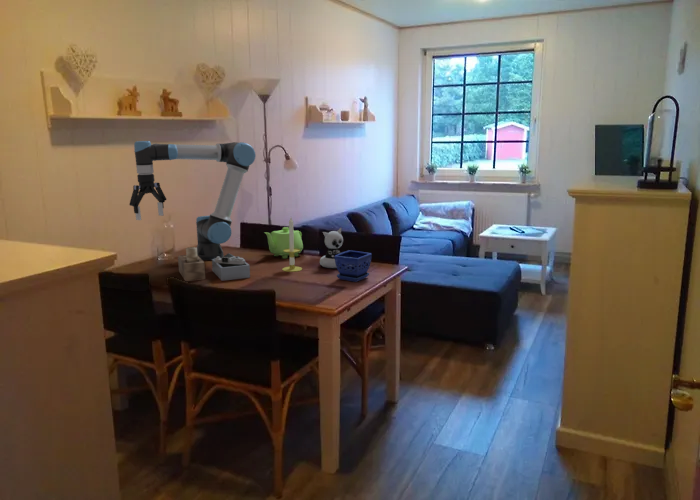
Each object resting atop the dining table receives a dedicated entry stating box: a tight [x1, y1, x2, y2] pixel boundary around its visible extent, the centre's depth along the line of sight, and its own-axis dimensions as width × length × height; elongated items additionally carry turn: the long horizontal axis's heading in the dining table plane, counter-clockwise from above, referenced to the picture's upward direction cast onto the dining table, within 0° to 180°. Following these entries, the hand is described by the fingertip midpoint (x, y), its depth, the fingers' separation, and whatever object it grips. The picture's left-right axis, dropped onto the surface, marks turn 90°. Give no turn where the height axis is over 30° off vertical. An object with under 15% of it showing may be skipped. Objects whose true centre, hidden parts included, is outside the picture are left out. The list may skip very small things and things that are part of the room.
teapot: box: [263, 226, 304, 260], centre depth 308 cm, size 25×22×16 cm
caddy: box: [211, 256, 251, 281], centre depth 268 cm, size 14×20×6 cm, turn 25°
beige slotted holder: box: [177, 254, 206, 282], centre depth 266 cm, size 9×20×8 cm, turn 25°
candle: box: [281, 217, 303, 273], centre depth 275 cm, size 10×10×27 cm
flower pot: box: [334, 249, 373, 283], centre depth 260 cm, size 13×13×12 cm
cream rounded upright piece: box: [185, 246, 198, 263], centre depth 261 cm, size 5×5×8 cm
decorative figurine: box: [319, 226, 344, 269], centre depth 283 cm, size 15×15×20 cm
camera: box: [215, 252, 246, 267], centre depth 269 cm, size 16×9×10 cm, turn 74°
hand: (150, 217), depth 270 cm, fingers open, 13 cm apart
